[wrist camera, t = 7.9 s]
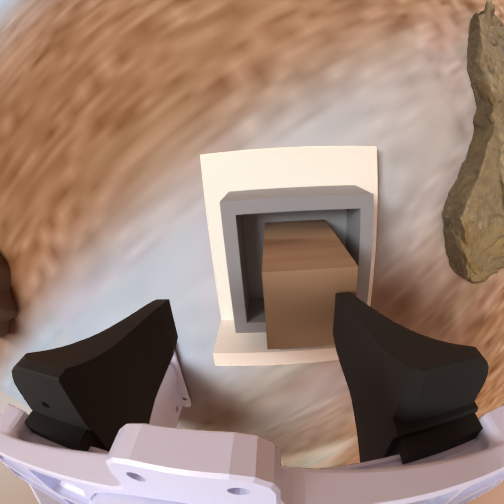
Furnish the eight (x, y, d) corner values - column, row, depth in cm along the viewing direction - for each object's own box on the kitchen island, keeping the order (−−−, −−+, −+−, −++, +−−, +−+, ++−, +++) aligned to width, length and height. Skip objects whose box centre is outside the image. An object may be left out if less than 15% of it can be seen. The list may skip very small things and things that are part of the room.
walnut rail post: (324, 274, 20) (350, 343, 13) (268, 277, 21) (267, 349, 13) (324, 219, 19) (358, 266, 11) (264, 222, 19) (261, 272, 12)
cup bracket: (365, 318, 23) (382, 355, 18) (224, 327, 24) (215, 366, 19) (372, 146, 18) (402, 147, 14) (202, 154, 19) (182, 156, 15)
